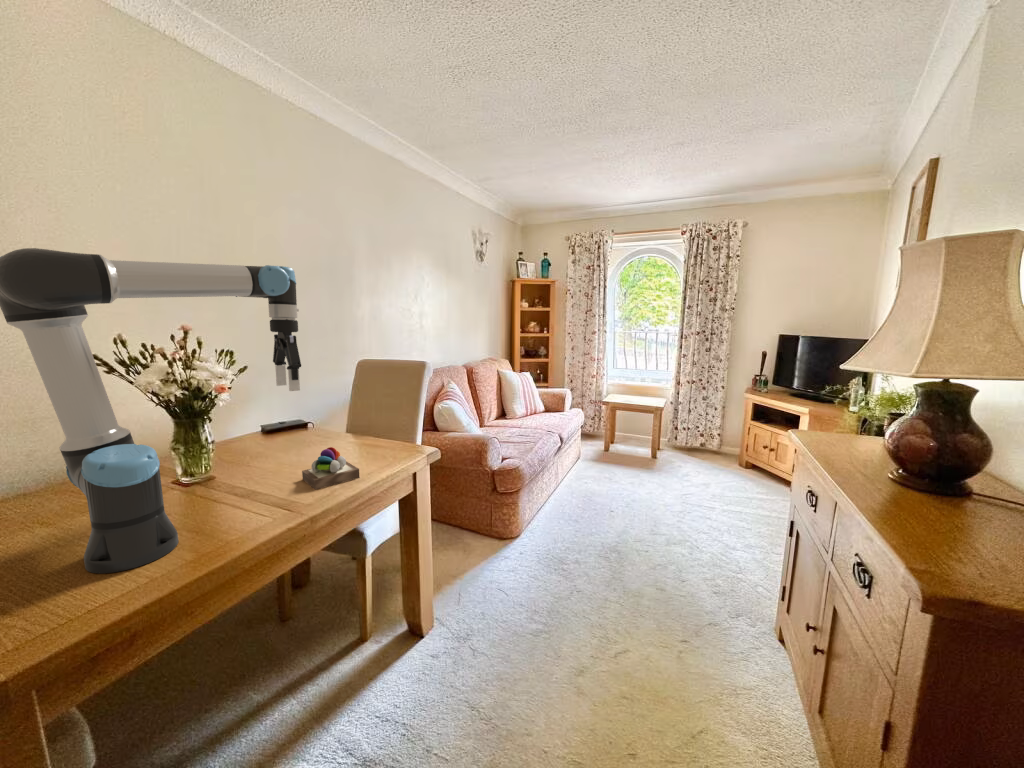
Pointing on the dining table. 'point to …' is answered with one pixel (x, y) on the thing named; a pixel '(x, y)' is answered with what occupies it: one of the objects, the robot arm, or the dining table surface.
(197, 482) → the dining table surface
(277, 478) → the dining table surface
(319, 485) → the plinth
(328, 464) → the rainbow pebble stack
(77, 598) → the dining table surface
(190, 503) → the dining table surface
